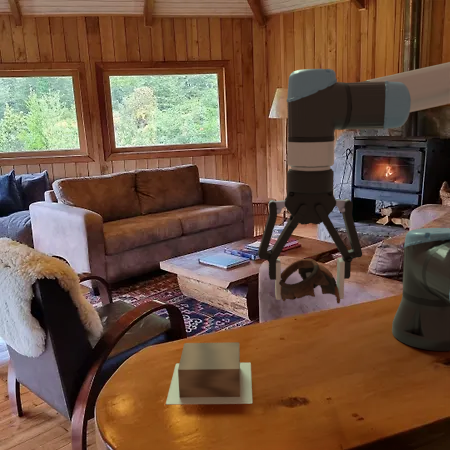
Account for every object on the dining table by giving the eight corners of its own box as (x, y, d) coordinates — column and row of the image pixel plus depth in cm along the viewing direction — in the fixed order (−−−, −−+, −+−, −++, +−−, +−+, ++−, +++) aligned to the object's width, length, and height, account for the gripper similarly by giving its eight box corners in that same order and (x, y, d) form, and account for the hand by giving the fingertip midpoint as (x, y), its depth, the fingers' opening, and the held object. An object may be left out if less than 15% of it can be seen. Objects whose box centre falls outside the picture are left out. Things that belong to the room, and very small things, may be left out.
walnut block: (239, 367, 96) (239, 342, 95) (239, 396, 86) (239, 368, 85) (185, 368, 96) (184, 343, 95) (179, 397, 86) (177, 369, 85)
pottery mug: (348, 312, 85) (327, 274, 81) (296, 334, 87) (273, 298, 84) (337, 272, 95) (318, 237, 92) (290, 293, 98) (270, 259, 94)
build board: (250, 369, 98) (250, 362, 98) (252, 411, 84) (252, 403, 84) (176, 370, 98) (176, 363, 98) (166, 412, 85) (165, 404, 84)
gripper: (374, 164, 89) (369, 288, 94) (241, 166, 90) (243, 290, 94) (386, 168, 82) (380, 303, 86) (241, 171, 82) (243, 305, 87)
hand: (308, 296), depth 90 cm, fingers closed on pottery mug, 10 cm apart
